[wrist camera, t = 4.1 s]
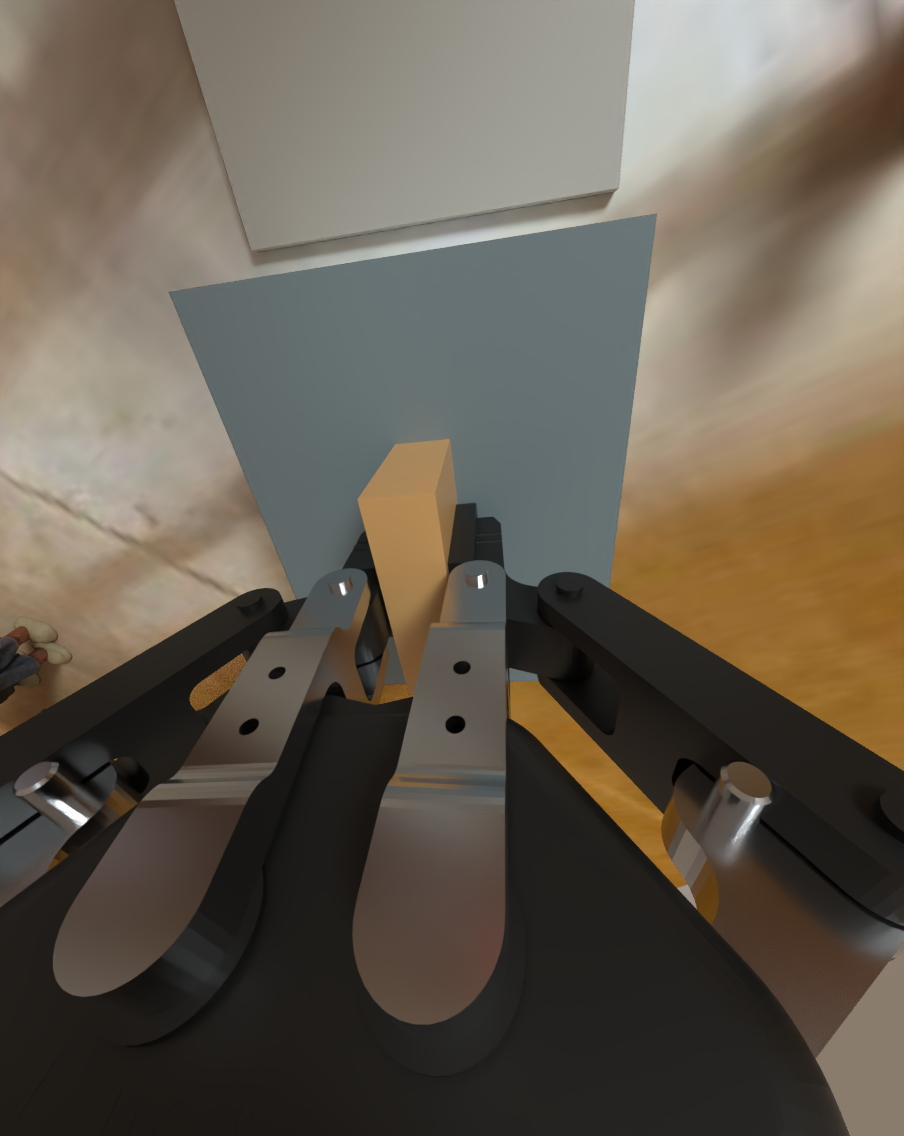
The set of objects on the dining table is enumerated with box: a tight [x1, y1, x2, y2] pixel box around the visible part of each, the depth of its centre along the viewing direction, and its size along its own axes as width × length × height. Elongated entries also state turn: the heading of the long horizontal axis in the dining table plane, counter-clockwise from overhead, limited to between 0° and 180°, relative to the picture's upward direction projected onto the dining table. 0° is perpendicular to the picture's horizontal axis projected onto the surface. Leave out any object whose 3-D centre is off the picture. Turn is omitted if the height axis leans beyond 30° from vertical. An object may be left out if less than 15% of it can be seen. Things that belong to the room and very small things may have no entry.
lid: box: [169, 214, 657, 695], centre depth 12 cm, size 14×11×6 cm
